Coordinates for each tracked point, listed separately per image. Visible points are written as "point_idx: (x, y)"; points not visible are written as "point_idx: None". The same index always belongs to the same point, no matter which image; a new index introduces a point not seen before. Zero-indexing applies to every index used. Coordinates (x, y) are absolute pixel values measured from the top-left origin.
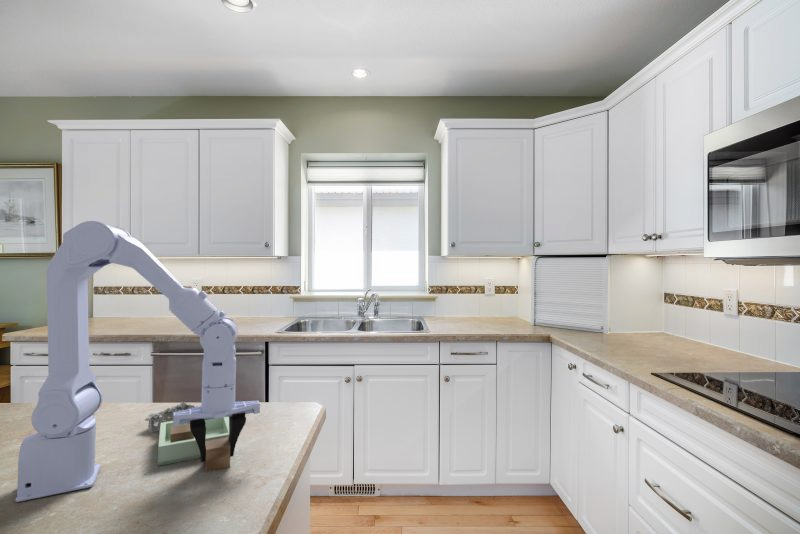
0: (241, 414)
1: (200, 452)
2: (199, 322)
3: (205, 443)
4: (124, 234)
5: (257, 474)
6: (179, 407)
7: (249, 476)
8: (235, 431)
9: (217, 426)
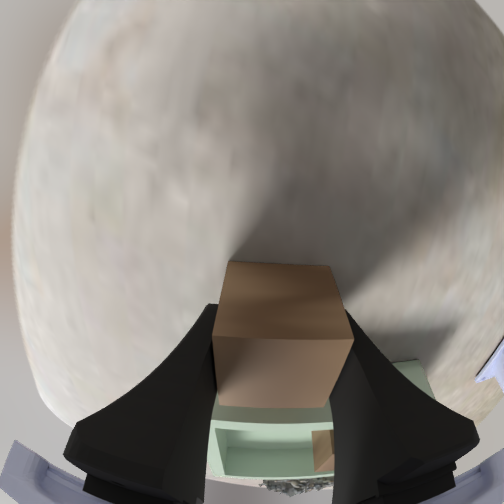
0: (107, 496)
1: (369, 340)
2: None
3: (329, 393)
4: None
5: (121, 135)
6: (297, 489)
7: (154, 130)
8: (161, 404)
9: (239, 452)
